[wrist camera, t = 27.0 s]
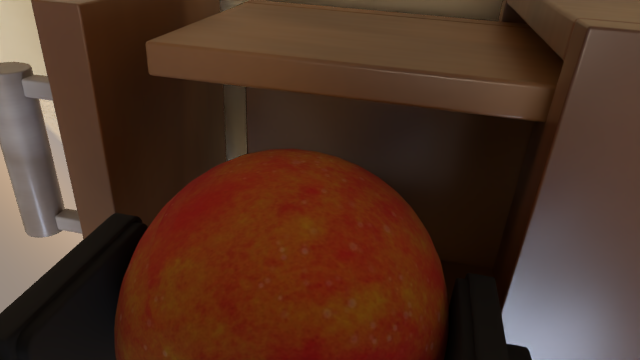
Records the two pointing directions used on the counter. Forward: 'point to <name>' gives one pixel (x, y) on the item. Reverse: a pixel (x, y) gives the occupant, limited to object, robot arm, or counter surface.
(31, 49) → the counter surface
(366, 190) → the fruit
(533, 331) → the cabinet
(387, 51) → the drawer
